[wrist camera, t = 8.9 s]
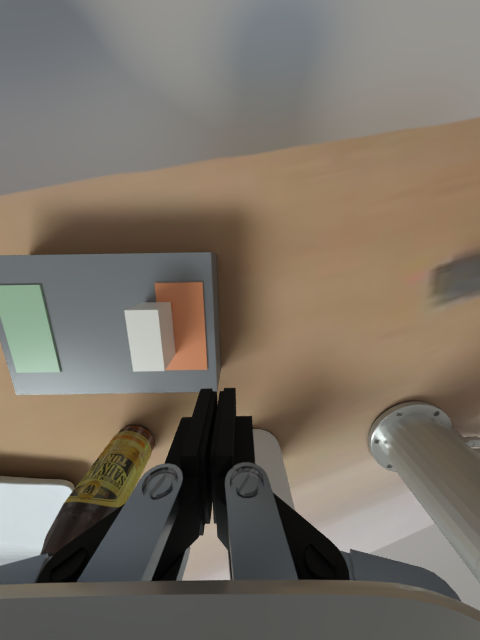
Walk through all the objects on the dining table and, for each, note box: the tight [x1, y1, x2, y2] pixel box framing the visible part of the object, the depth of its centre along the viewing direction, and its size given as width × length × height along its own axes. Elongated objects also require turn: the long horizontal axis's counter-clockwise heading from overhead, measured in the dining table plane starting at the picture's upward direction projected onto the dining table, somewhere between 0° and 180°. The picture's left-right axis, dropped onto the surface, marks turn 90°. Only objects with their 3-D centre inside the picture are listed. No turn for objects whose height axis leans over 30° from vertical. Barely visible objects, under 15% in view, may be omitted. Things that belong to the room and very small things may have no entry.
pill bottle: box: [253, 429, 295, 510], centre depth 29 cm, size 8×8×15 cm
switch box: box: [0, 252, 221, 395], centre depth 28 cm, size 24×16×6 cm, turn 91°
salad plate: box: [0, 476, 75, 566], centre depth 39 cm, size 21×21×3 cm
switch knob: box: [124, 302, 176, 372], centre depth 23 cm, size 3×6×4 cm, turn 1°
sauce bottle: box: [40, 425, 154, 557], centre depth 27 cm, size 7×6×20 cm
